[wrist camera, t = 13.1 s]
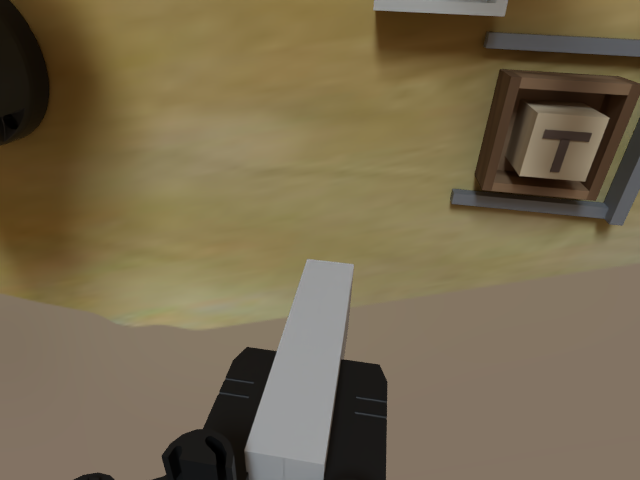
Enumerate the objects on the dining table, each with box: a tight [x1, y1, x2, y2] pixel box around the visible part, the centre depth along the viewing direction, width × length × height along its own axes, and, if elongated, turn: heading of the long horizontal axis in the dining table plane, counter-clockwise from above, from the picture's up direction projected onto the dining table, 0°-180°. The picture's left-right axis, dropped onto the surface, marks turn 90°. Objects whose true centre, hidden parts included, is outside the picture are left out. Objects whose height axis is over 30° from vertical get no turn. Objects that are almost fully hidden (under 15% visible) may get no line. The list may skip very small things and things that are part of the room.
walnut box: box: [475, 69, 640, 201], centre depth 31 cm, size 8×8×4 cm
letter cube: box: [505, 99, 610, 182], centre depth 31 cm, size 4×4×5 cm
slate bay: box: [450, 32, 640, 225], centre depth 32 cm, size 14×13×2 cm
